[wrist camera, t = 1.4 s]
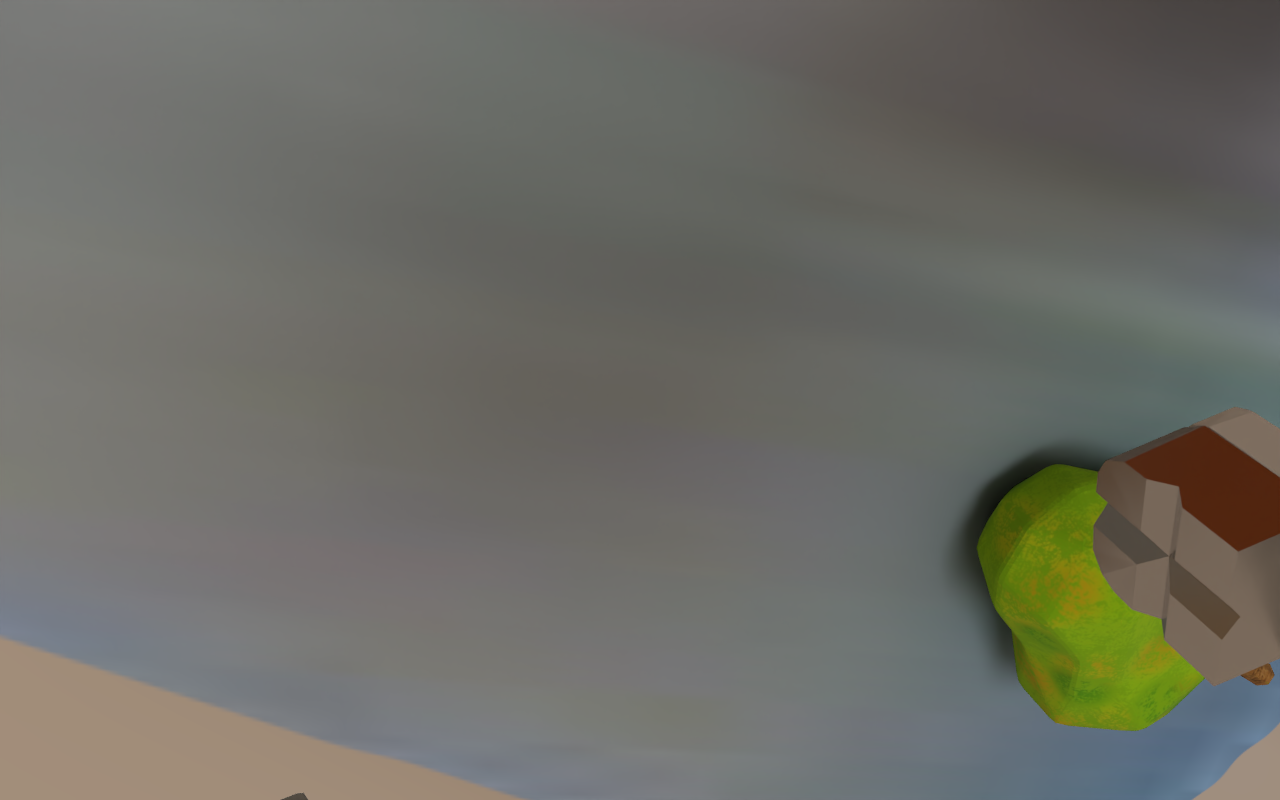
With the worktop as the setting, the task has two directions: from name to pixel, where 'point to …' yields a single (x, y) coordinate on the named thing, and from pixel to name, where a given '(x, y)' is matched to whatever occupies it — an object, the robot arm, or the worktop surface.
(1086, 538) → the green fruit
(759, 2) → the worktop surface
